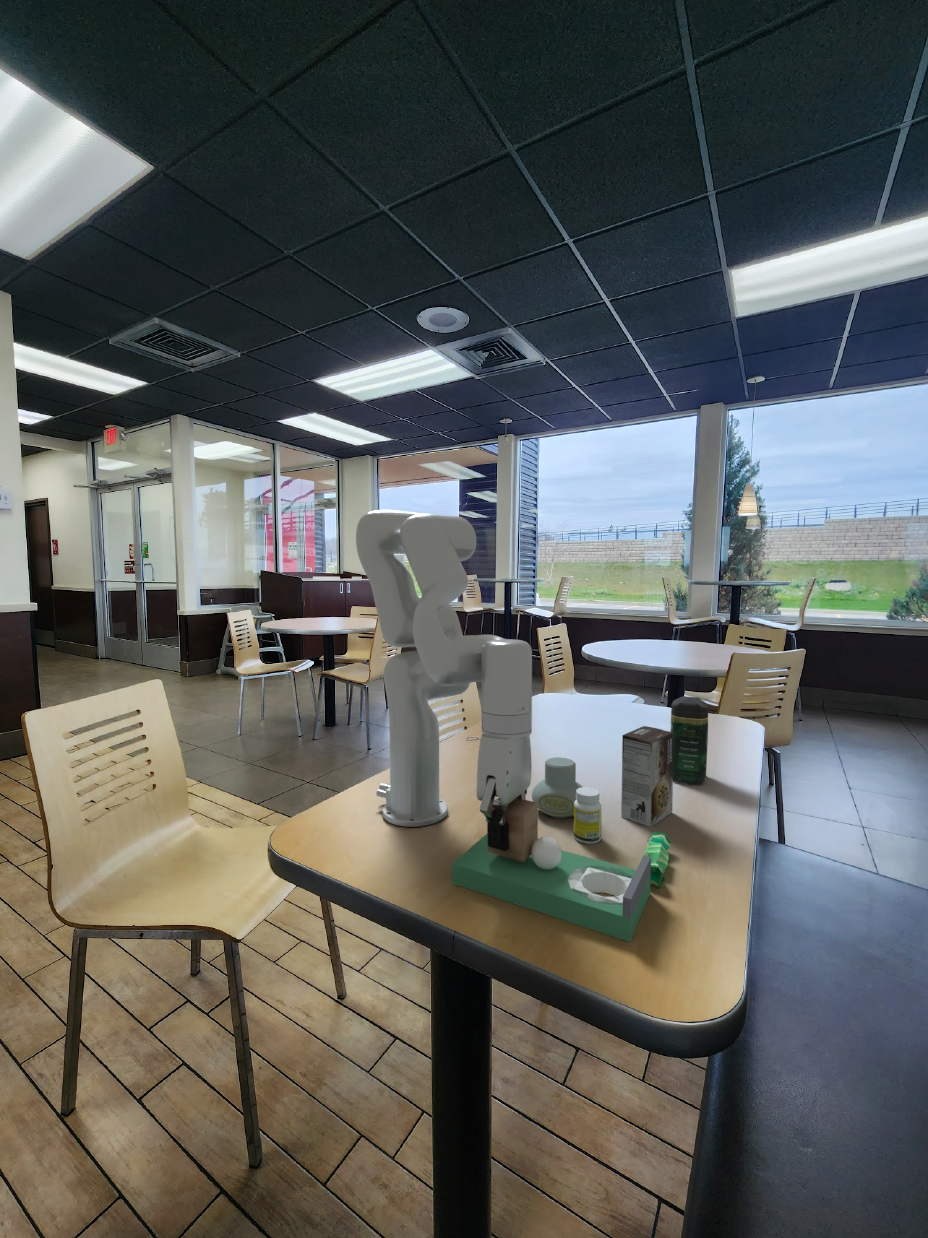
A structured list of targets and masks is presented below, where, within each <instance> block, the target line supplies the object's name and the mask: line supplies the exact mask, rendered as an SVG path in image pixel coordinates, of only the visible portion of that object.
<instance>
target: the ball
mask: <svg viewBox="0 0 928 1238" xmlns="http://www.w3.org/2000/svg"><path fill="white" fill-rule="evenodd" d="M561 850H562V848H561V846H560V844H559V843H558V841H557V840H555V839H554V838H552V837H551V836H541V837H538V839H537V840H536V841H535V842H534V844H533V846H532V849H531V855H532V859H533V861H534V863H535V864H536V865H537V866H538V867H540V868H542V869H545V870H549V869H553V868H555V867H556V866H557V865H558V864H559V862H560V860H561V857H562V852H561Z"/></svg>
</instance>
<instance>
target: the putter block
mask: <svg viewBox="0 0 928 1238" xmlns="http://www.w3.org/2000/svg"><path fill="white" fill-rule="evenodd" d="M495 800H498V801H500V797H497V798H496V799H495ZM494 809H495V810H498V812H499V813H500V812H501V806H496V805H494ZM538 811H539V809H538V803H537V802H533V800H527V799H526V800H523V799H518V798H515V799H514V800H513V801H511V802H510V803H509V804H508V809H507V818H506V823H508V824H509V849H508V850H507V851H502V850H499V849H495V848H492V847H489V846H488V822H487V821H486V822H487V823H486V827H487V828H486V829H487V831H486V832H487V833H486V834H487V852H489V853H493V854H497V855H500V856H504V857H507V858H511V859H514V860H518V861H521V862H525V861H526V860H527V859H528V857H529V856H530V855H531V849H532V846H533V844H534V842H535V841H536V840H537V839H539V834H538V832H539V827H538V825H539V823H538V821H539V819H538V817H539V814H538V813H539V812H538Z"/></svg>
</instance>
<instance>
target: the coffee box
mask: <svg viewBox="0 0 928 1238" xmlns="http://www.w3.org/2000/svg"><path fill="white" fill-rule="evenodd" d="M673 733H674V732H671V731H669V730H664V729H661V728H657V727H651V726H647V725H642V726H640V727H639V728H636V729H633V730H632V731H628V732H627V733H625V734H624V733H623V734H622V741H621V742H622V745H621V747H622V750H621V753H622V754H621V757H622V758H621V760H622V761H621V811H620V813H621V815H620V816H621V818H623V819H627V820H629V821H632V822H634V823H638V824H641V825H644V826H646V827H649V828H650V827H651V828H652V827H653V826H655V825H656V824H658V823H659V822H660V821H662V820H663V819H665V818H666V817H667V816H669V815H670V814H671V813H673V796H674V795H673V792H674V791H673V790H674V787H673V785H674V782H673V781H674V780H673Z"/></svg>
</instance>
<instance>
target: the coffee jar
mask: <svg viewBox="0 0 928 1238" xmlns="http://www.w3.org/2000/svg"><path fill="white" fill-rule="evenodd" d="M708 705H709V704H707V702H706V701H704V700H703V699H701V698H700V697H695V696H693V697H692V696H684V695H683V696H681V697H678V698H676V699H674V700H673V701H672V703H671V705H670V707H671V710H670V732H674V733H673V781H677V782H679V783H681V784H684V783H685V785H697V784H699V785H702V784H704V783H705V781H706V779H707V768H708V767H707V766H708V765H707V763H708V762H707V761H708V746H709V745H708V741H709V707H708Z"/></svg>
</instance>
